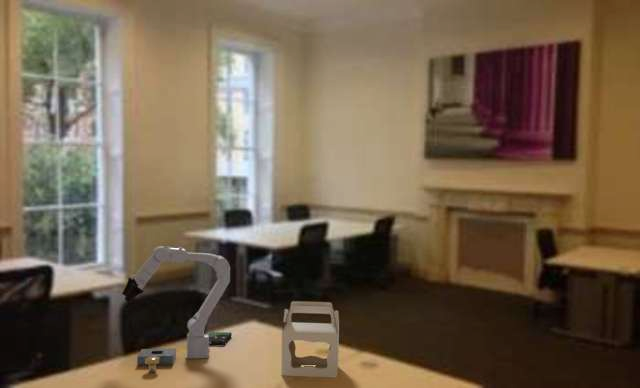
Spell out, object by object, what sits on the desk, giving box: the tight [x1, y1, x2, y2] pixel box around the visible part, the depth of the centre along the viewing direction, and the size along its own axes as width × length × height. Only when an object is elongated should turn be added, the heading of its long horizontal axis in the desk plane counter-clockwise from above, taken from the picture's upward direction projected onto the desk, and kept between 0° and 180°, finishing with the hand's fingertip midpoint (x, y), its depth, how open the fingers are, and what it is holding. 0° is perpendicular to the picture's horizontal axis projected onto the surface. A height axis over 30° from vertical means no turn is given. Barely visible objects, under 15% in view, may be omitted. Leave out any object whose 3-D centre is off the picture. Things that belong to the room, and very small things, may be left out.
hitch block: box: [136, 348, 177, 367], centre depth 244 cm, size 14×10×4 cm
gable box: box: [281, 300, 340, 379], centre depth 236 cm, size 22×13×28 cm, turn 86°
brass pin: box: [145, 356, 160, 374], centre depth 233 cm, size 6×6×5 cm
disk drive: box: [207, 331, 232, 347], centre depth 276 cm, size 10×3×15 cm
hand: (125, 297), depth 243 cm, fingers open, 7 cm apart
